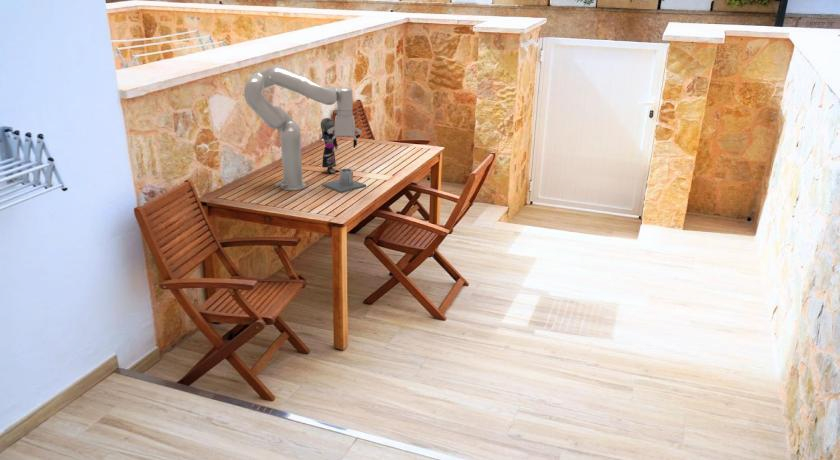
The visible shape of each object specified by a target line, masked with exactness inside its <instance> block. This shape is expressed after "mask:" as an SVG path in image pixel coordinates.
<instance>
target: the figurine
mask: <svg viewBox="0 0 840 460" xmlns="http://www.w3.org/2000/svg"><path fill="white" fill-rule="evenodd" d="M334 126H335V122H334V120H332V118H329V117H325V118H323V119H321V121H320V130H321V135H322V137H320V141H321V142H324V145H325V146H324V150H323V155H322V162H321V163H322V164H321V166H322V168H326V172H327V173H328V174H333V175H334V174H335V173H336V172H337V169H336V168H334V167H336V166H337V163H336V156H335V155H336V154H335V151H338V150H339V149H338V147H339V146H338V144H337V145H336V147H334V145H333V139H332V137H331V136H330V135H329V133H328V131H327V130H328V129H330V128H332V127H334ZM331 133H332V134H333V135H335V134H334V130H332V131H331ZM336 142H337V143H338V141H337V140H336Z"/></svg>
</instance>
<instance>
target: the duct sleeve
mask: <svg viewBox="0 0 840 460" xmlns="http://www.w3.org/2000/svg"><path fill="white" fill-rule="evenodd" d="M339 180H340V184H341V185H352V184H353V180H354V171H353V169H351V168H341V169H339Z"/></svg>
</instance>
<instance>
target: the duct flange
mask: <svg viewBox="0 0 840 460" xmlns="http://www.w3.org/2000/svg"><path fill="white" fill-rule="evenodd" d="M321 186H322V187H324V188H326V189H329V190H332V191H334V192H338V193H339V194H343V193H346V192H350V191H354V190H358V189H362V188H366V187H367V184H365V183H362V182H360V181H356V180H354V179H353V184H352V185H341V184H340V179H336V180H333V181H329V182H324V183H322V184H321Z"/></svg>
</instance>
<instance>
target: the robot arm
mask: <svg viewBox="0 0 840 460" xmlns="http://www.w3.org/2000/svg"><path fill="white" fill-rule="evenodd" d="M274 85H275V86H278V87H281V88H284V89H286V90H288V91H292V92H295V93H298V94H299V95H301V96H304V97H306V98H308V99H310V100H312V101H314V102H318V103H320V104H323V105H327V106H331V105H334V104H335V103H336V109H335V110H333V113H334V114H336V115H335V117H334V118H335V119H334V127H332V128H330V129H328V130H327V131H328V133H329V135H330V136H331V137H332V139H333V145H334V148H335V147H336V145H338V141H337V137H346V138H347V137H352V138H353V144H352V145H353V148H354V149H355V148H356V147H357V146H358V144H357V143H358V142H357V141H358V139H359V138H360V137H361V135H362V134H363V130H362V129H360V128H358V127H356V121H355V116H354V114H353V89H352V88H351V87H347V86H344V87H343V86H342V87H337V86H331V85H329V86H324V87H323V86H322V85H319V84H316V83H314V82H313V81H311V80H310V79H309V78H307V77H306V76H304V75H302V74H299V73H296V72H293V71H291V70H288V69H287V68H285V66H283V65H281V64H273V65H272V66H269V67H267V68H265V69H263V70H260V71H258V72H255V73H253V74H251V75H250V76H249V77H248V79H247V80H246V83H245V86H244V89H243V96H244V101H245V102H246V103H247V105H248V107H250V109H251V110H253V111H252V112H254V113H255V114H256V115H257V116H258V117H259V118H260V119H261V120H262V121H263V122H264V124H266V126H267V127H269V128H270V129H273V130H277V131H278V133H280V135H279V137H280V146H281V149H280V150H281V161H282V163H281V164H282V175H283V176H282V178H281V180H280V181H279V182H275V184H274V185H275V187H280V188H281V189H282V190H285V191H301V190H303V189H305V188H306V187H307V184H306V183H305V182H304V181H303V166H302V165H303V164H302V161H303V160H302V146H301V128H300V126H299V125H298V123H297V122H296V121H295V120H294V119H293V118H292V117H291V116H290V115H289V114H288V113H287V112H286V111H285V110H284V109H283V108H281V107H280V106H276V105H273V104H272V103H271V102H270V101H269V100H268V99H267V98H266V97H265V96H264V95H263V91H264V90H265V89H267V88H269V87H270V88H271V87H272V86H274ZM332 130H333V133H334V135H333V134H332V133H331V131H332ZM356 132H358V134H357V135H356ZM336 141H337V142H336Z"/></svg>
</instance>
